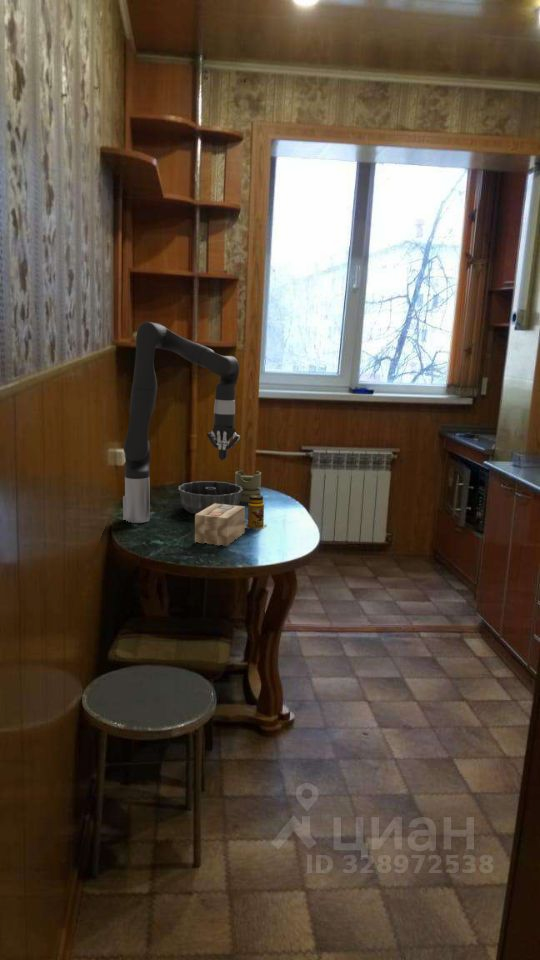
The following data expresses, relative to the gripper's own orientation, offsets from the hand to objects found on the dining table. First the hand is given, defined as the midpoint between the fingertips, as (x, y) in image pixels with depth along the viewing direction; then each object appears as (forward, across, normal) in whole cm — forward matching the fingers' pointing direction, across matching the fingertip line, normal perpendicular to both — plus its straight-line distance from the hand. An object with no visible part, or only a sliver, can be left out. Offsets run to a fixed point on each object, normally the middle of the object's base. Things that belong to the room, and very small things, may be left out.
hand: (222, 459), depth 258 cm
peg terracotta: (+25, -4, +13) cm, 28 cm away
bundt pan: (+27, +15, -25) cm, 40 cm away
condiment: (+27, -9, -11) cm, 30 cm away
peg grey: (+25, -3, +3) cm, 25 cm away
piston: (+27, +9, -51) cm, 59 cm away
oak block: (+27, -4, +8) cm, 28 cm away
